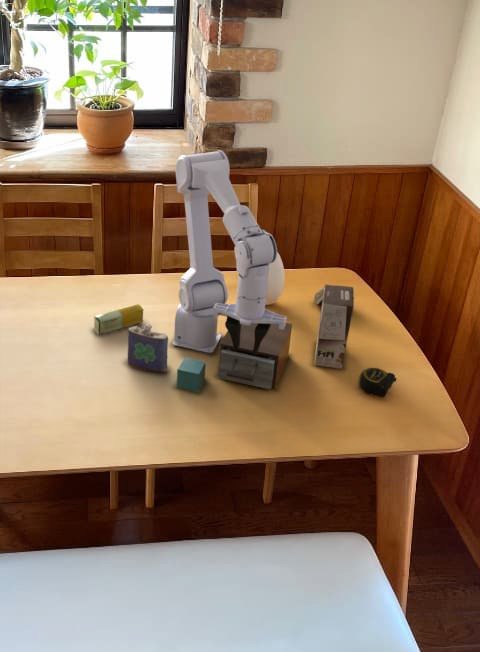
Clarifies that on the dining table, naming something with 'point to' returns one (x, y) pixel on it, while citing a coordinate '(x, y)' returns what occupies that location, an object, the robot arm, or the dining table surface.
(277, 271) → the sauce bottle
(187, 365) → the block
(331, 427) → the dining table surface
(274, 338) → the cabinet
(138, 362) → the flask
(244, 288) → the robot arm
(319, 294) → the fossilized seashell
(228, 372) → the drawer
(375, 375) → the tape measure
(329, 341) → the coffee box
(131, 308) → the medication box
